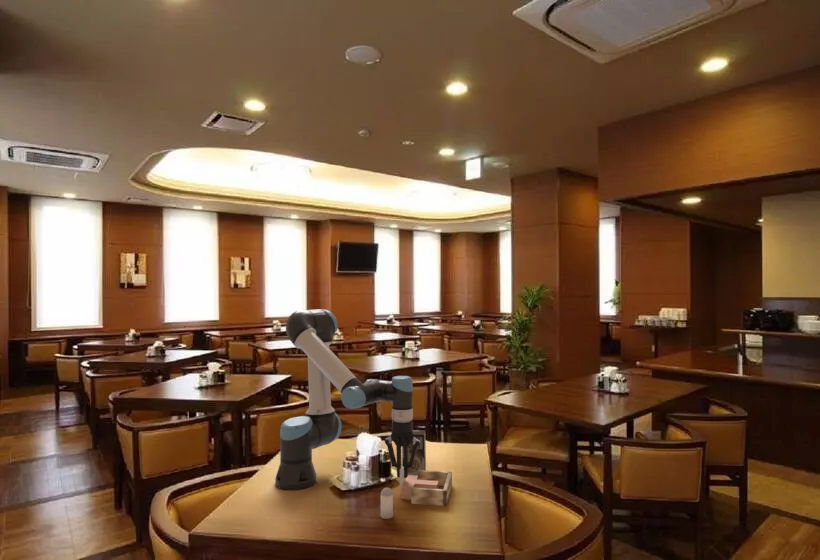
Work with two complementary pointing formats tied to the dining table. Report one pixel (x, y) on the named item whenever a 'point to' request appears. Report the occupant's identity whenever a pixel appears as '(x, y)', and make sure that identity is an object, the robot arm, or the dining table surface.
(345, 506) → the dining table surface
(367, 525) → the dining table surface
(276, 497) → the dining table surface
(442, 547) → the dining table surface
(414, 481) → the t block
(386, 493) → the cylinder
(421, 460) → the coffee box
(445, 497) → the bay
